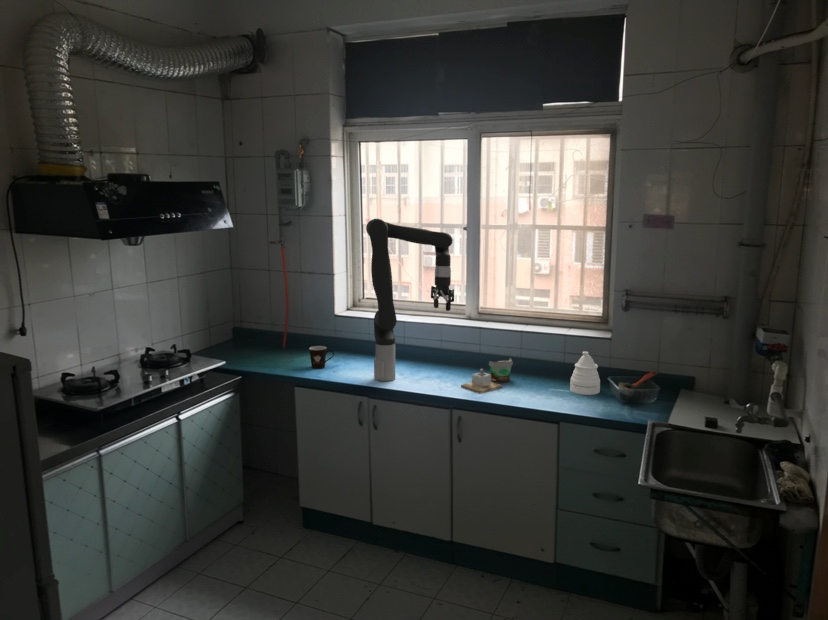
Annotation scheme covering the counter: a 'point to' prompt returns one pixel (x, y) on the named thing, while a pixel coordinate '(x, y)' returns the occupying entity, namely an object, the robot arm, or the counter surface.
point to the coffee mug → (318, 356)
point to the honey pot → (585, 376)
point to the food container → (500, 371)
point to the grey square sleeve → (481, 380)
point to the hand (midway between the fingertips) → (442, 309)
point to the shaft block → (478, 389)
